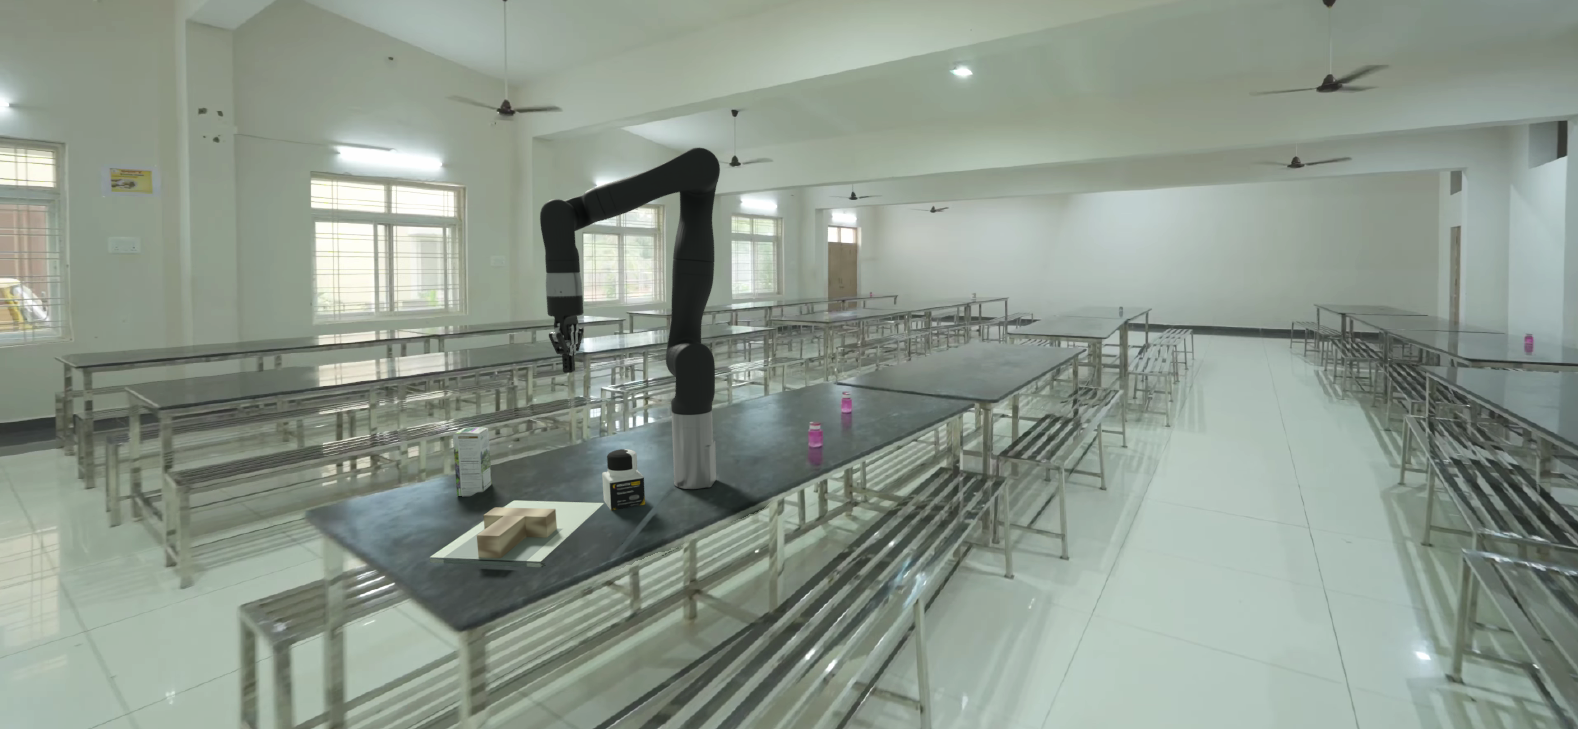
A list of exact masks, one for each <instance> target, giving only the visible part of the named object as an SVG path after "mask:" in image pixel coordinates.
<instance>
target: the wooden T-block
mask: <svg viewBox="0 0 1578 729" xmlns="http://www.w3.org/2000/svg"><path fill="white" fill-rule="evenodd" d="M483 521H484V529H485V530H483V531H482V532H481V533H479V534H478V535H477V546H478V558H502V557H503V556H504V555H505V554H506V553H508V552H509V551H510V550H511V549H513V548H514V547H515V546H516V545H517V544H519V543H520V542H521V541H522V540H523V539H525V538H526V537H542V538H547V537H549V536H550V535H551V534H552V533H553V532H554V531H555V530H556V529H557V524H556V509H540V508H503V507H500V506H499V507H496V506H495V507H493V508H492V509H490V510H489V511H488V512H486V513H484V514H483Z"/></svg>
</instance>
